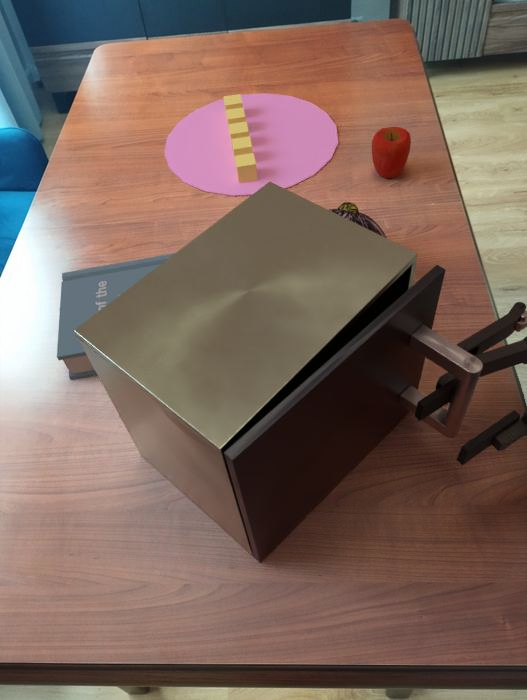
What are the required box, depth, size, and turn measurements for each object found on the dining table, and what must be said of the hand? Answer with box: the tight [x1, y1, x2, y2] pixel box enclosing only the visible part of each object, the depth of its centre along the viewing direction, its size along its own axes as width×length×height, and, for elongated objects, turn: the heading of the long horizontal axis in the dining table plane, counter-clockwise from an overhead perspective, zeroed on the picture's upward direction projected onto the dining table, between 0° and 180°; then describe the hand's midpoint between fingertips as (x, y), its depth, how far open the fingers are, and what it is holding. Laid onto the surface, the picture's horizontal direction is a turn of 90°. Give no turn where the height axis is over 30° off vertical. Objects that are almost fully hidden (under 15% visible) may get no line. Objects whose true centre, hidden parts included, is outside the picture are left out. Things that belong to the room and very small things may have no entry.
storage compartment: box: [74, 182, 418, 556], centre depth 61 cm, size 18×26×24 cm
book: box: [56, 252, 176, 380], centre depth 80 cm, size 23×16×5 cm
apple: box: [371, 126, 412, 179], centre depth 95 cm, size 6×6×8 cm
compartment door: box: [224, 264, 483, 564], centre depth 54 cm, size 8×26×23 cm, turn 134°
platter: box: [163, 92, 339, 197], centre depth 106 cm, size 32×32×3 cm
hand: (440, 432), depth 54 cm, fingers open, 5 cm apart
